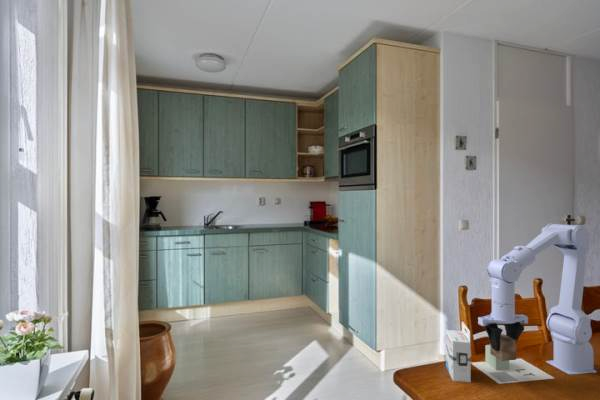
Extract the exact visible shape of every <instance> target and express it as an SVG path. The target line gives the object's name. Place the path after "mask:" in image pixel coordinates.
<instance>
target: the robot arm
mask: <svg viewBox="0 0 600 400" xmlns="http://www.w3.org/2000/svg"><path fill="white" fill-rule="evenodd" d="M591 235H592V234H591V233H590V231H589V229H588V228H587V227H586V226H584V225H581V224H575V225H574V224H560V223H554V222H552V223H548V224H547V225H546V226H544V227H542V229H541V233H540V234H538V235H537V236H536V237H535V238H533V239H532V240H531V241H530V242H529V243H528V244H527V245H525V246H524V245H515V246H514V247H513V250H511V251H509V252H508V253H507V254H505V255H503V256H501V258H500V259H499V258H498V259H497V258H496V259H495V258H494V259H493V260H491V261H489V263H488V265H487V268H486V269H485V270H486V274H487V276H488V277H489V283H490V286H491V312H490V314H487V315H484V316H479V317H477V320H478V321H477V324H478V325H479V326H481V327H483V328H484V330H485V332H486V333H487V336H488V338H489V341H490V343H491V347H492V349H494V350H496V351H499V348H500V337H501V334H503V330H504V329H505V335H507V336H509V337H510V338H512V339H514V340H516V344H518V340H519V338H520V336H521V334H522V333H523V332H524V331H525V326H524V325H523V324H528V323H529V317H528V316H527V315H525V314H516V310H515V309H516V305H515V304H516V302H515V301H516V300H515V299H516V298H515V297H516V295H515V294H516V292H515V290H516V289H515V287H516V286H515V283H516V282H517V281H518V280H519V278H520V276H521V274H522V273H523V270H525V269H527V267H529V266H531V265H532V264H533V263H535V262H536V256H537V255H539V254H541V253H542V252H544V251H546V250H547V249H549V248H551V247H554V248H556V249H557V250H560V252H561V253H562V254H563V265H562V271H561V272H562V273H561V280H560V281H561V282H560V290H559V298H558V299H559V300H558V304H557V305H554V306H552V307H551V308H550V309H549V314H548V316H547V317H546V321H545V322H546V327H547V329H548V331H550V335H551V336H552V338H553V360H552V359H551V360H546V363H547V364H549V365H551V366H553V367H554V368H556V369H558V370H560V371H562V372H563V373H566V374H568V375H570V376H571V375H580V374H581V375H582V374H592V373H593V374H597V370H595V367H594V347H593V346H592V344H591V343H590V339H591V338H592V335H593V331H592V326H591V318H590V317H589V316H588V315H587V314H586V313H585V311H583V310H582V305H583V304H582V303H583V295H584V294H583V293H584V284H585V278H586V277H585V276H586V269H587V261H588V260H587V258H588V254H589V252H590V247H591V246H590V245H591V244H590V242H591V237H592V236H591ZM499 325H503V326H504V329H502V328H500V327H499ZM490 343H489V344H490Z"/></svg>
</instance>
